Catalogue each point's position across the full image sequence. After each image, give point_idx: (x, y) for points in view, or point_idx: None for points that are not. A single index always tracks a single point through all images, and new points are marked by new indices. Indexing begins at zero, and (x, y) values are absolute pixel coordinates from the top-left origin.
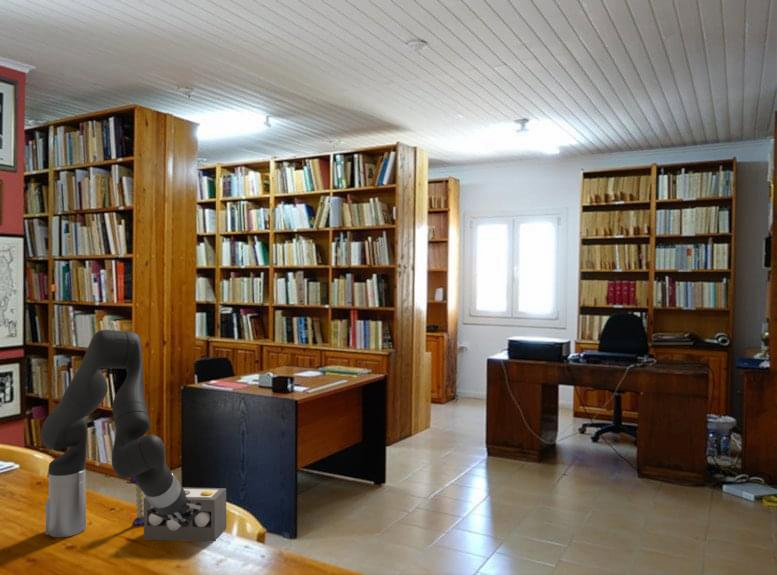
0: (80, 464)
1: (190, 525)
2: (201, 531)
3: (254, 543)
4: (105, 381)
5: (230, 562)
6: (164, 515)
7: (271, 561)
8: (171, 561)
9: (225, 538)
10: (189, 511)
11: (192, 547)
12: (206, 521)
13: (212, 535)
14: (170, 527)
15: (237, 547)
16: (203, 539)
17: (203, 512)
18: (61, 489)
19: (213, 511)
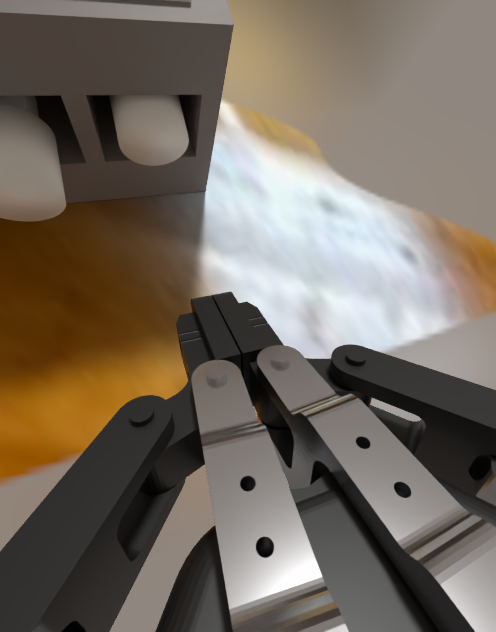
0: None
1: (93, 157)
2: (151, 171)
3: (337, 183)
4: None
5: (347, 318)
6: (144, 558)
7: (448, 281)
8: (140, 371)
9: (226, 162)
10: (357, 395)
11: (149, 247)
12: (183, 145)
13: (198, 177)
14: (11, 215)
15: (305, 217)
16: (161, 190)
17: (154, 97)
18: None
19: (215, 94)
